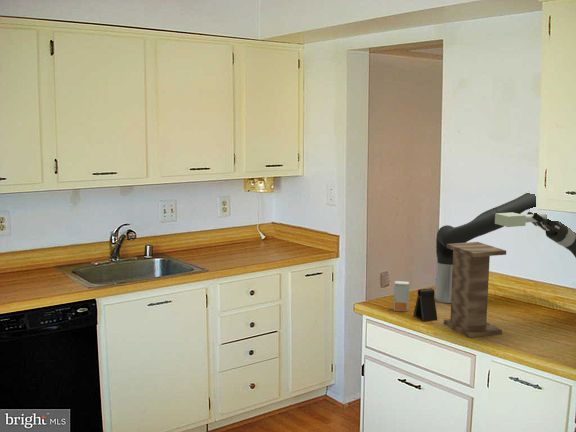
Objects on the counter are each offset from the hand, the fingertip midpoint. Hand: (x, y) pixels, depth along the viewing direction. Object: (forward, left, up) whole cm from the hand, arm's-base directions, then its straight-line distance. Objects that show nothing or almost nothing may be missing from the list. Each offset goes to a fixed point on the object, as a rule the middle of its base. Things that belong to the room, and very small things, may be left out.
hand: (531, 214), depth 266 cm
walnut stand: (0, -25, -43) cm, 50 cm away
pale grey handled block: (0, -4, -3) cm, 5 cm away
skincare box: (-31, -39, -44) cm, 66 cm away
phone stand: (-18, -35, -44) cm, 58 cm away
